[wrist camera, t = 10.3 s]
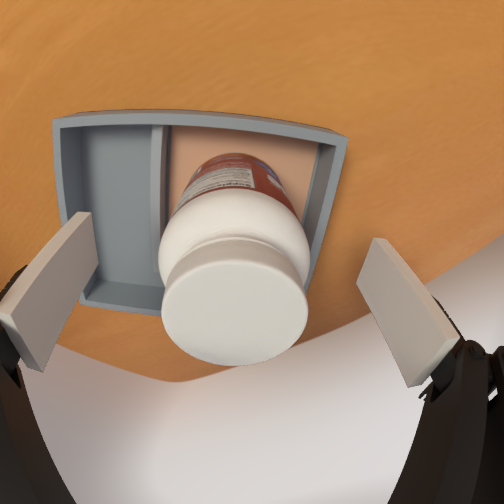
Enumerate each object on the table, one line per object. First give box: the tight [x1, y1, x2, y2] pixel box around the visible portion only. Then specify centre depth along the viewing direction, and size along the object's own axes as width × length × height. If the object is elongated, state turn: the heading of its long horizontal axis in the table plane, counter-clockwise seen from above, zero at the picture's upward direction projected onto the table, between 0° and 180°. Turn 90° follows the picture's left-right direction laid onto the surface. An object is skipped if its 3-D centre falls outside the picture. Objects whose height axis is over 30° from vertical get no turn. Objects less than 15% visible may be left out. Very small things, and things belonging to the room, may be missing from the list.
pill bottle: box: [158, 152, 310, 366], centre depth 13 cm, size 6×6×11 cm
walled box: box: [53, 109, 349, 317], centre depth 18 cm, size 17×14×4 cm
